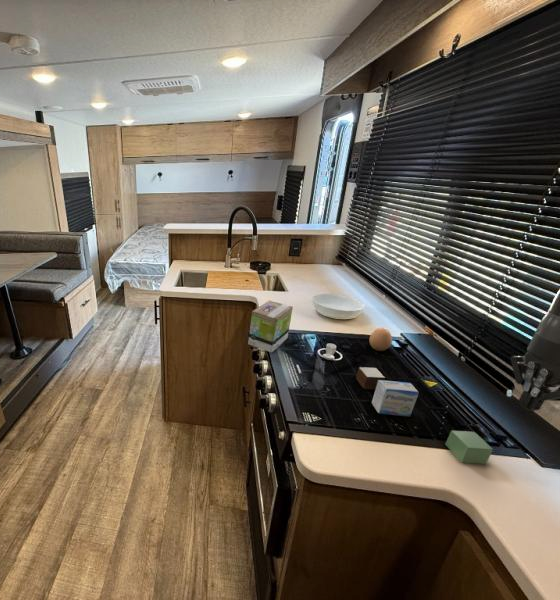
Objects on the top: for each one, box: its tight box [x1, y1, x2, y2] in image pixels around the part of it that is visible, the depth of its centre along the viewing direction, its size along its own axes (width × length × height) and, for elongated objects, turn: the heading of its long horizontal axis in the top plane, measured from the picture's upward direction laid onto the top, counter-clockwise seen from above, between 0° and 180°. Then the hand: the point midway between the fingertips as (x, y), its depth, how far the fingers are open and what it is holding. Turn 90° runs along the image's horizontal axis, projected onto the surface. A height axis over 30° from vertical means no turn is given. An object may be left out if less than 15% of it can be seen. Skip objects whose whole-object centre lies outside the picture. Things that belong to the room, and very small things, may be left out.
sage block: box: [444, 430, 494, 465], centre depth 70 cm, size 5×5×5 cm
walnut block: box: [355, 366, 386, 390], centre depth 94 cm, size 5×5×5 cm
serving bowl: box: [311, 293, 365, 320], centre depth 142 cm, size 21×21×7 cm
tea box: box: [247, 300, 294, 354], centre depth 118 cm, size 15×10×15 cm, turn 137°
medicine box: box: [371, 379, 420, 418], centre depth 84 cm, size 8×4×9 cm, turn 79°
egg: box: [368, 327, 393, 352], centre depth 112 cm, size 7×7×9 cm
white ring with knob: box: [317, 342, 343, 361], centre depth 110 cm, size 9×8×4 cm
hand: (526, 408), depth 65 cm, fingers closed
